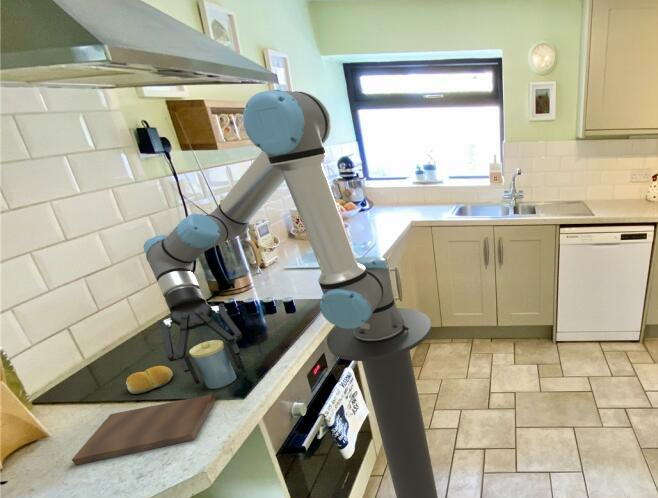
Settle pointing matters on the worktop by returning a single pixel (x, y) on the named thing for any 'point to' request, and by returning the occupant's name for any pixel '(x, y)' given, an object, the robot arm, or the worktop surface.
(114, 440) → the board
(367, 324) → the robot arm
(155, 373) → the bread roll
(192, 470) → the worktop surface
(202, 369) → the butter crock
